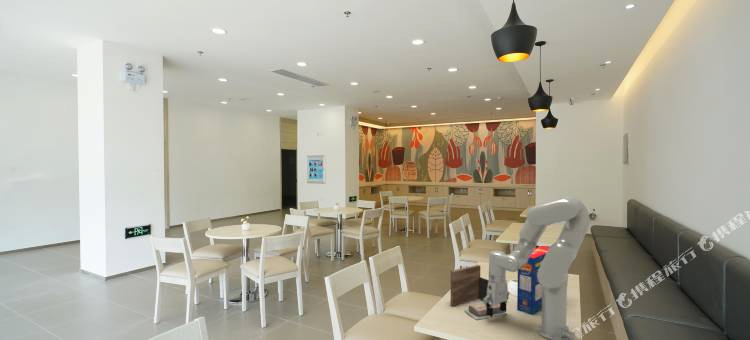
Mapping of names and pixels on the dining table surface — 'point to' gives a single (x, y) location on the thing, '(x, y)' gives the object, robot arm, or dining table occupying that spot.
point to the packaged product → (483, 311)
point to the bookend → (482, 288)
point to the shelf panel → (465, 285)
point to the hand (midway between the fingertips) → (496, 313)
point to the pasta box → (530, 283)
